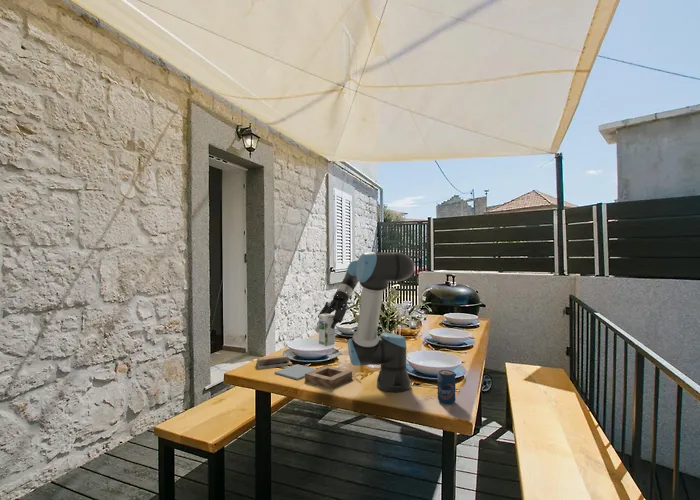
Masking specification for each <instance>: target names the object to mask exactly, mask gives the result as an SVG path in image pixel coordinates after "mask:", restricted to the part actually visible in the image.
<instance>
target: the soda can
mask: <svg viewBox="0 0 700 500" xmlns="http://www.w3.org/2000/svg"><path fill="white" fill-rule="evenodd" d="M454 373H455V372H453V371H452V370H449V369H448V370H447V369H443V370H438V374H437V400H438V402H439V403H440V404H441V405H444V406H445V405H446V406H451V405H452V406H453V405H454V404H455V402H456V376H455V374H454Z"/></svg>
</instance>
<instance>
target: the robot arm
mask: <svg viewBox="0 0 700 500" xmlns="http://www.w3.org/2000/svg"><path fill="white" fill-rule="evenodd" d="M414 272H415V263H414V261H413V259H412V258H411V257H410V256H409V255H407V254H405V253H402V252H375V251H371V252H364V253H362V254H361V255H360V256H359V257H358V260H357V259H354V260H352V261H350V262H349V264H348V265H347V269H346V271H345V275H344V278H343V280H342V281H341V283H340V285H339V286H338V288H337V289H336V292H335V293H334V294H333V298H332V300H331V301H329V302H328V301H326V302H325V305H324V306H323V308H322V309H321V311H320V312H319V314H318V315H317V318H318V319H319V315H320V314H332V313H334V315H335V316H334V321H333V320H332V321H331V322H330V324H329V326H328V328H327V330H326V331H325V332H326V333H327V334H328V335H330V333H331V331H332V329H334V327H335V328H336V326H337V324H338V323H339V324H341V323H342V321H343V319H344V317H345V314H346V312H347V311H348V310H349V305H348V301H350V297H351V296H352V294H353V292H354V290H355V289H356V287H357V285H358V283H359V285H360V286H361V287H362V290H361V299H360V305H359V312H358V313H359V315H358V320H357V322H358V323H357V330H356V331H355V332H354V333H353V335H352V338H349V339H348V340H347V350H348V356H349V359H350V363H351V365H353V366H355V367H356V366H357V367H362V366H370V365H371V366H372V365H380V368H379V369H380V370H379V373H378V375H377V379H376V387H377V388H378V389H379V390H381V391H385V392H389V393H401V392H406V391H409V390H410V389H411V379H410V376H409V373H408V370H407V339H406V338H405V337H404V336H403V335H401V334H400V335H399V334H396V333H390V332H388V333H387V332H383V333H380V336H379V335H378V328H379V327H378V326H379V322H380V315H381V309H382V303H383V302H382V301H383V295H384V291H385V290H387V288H388V287H389V283H390V282H401V281H405V280H407V279H409V278H410V277H412V275H413V274H414ZM346 292H347V293H346ZM337 295H338V297H339V298H338V297H337ZM341 297H343V298H341ZM344 303H345V304H344ZM334 311H335V312H334ZM314 331H315V332H316V334H319V320H318V321H317V323H316V326H315V328H314Z"/></svg>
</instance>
